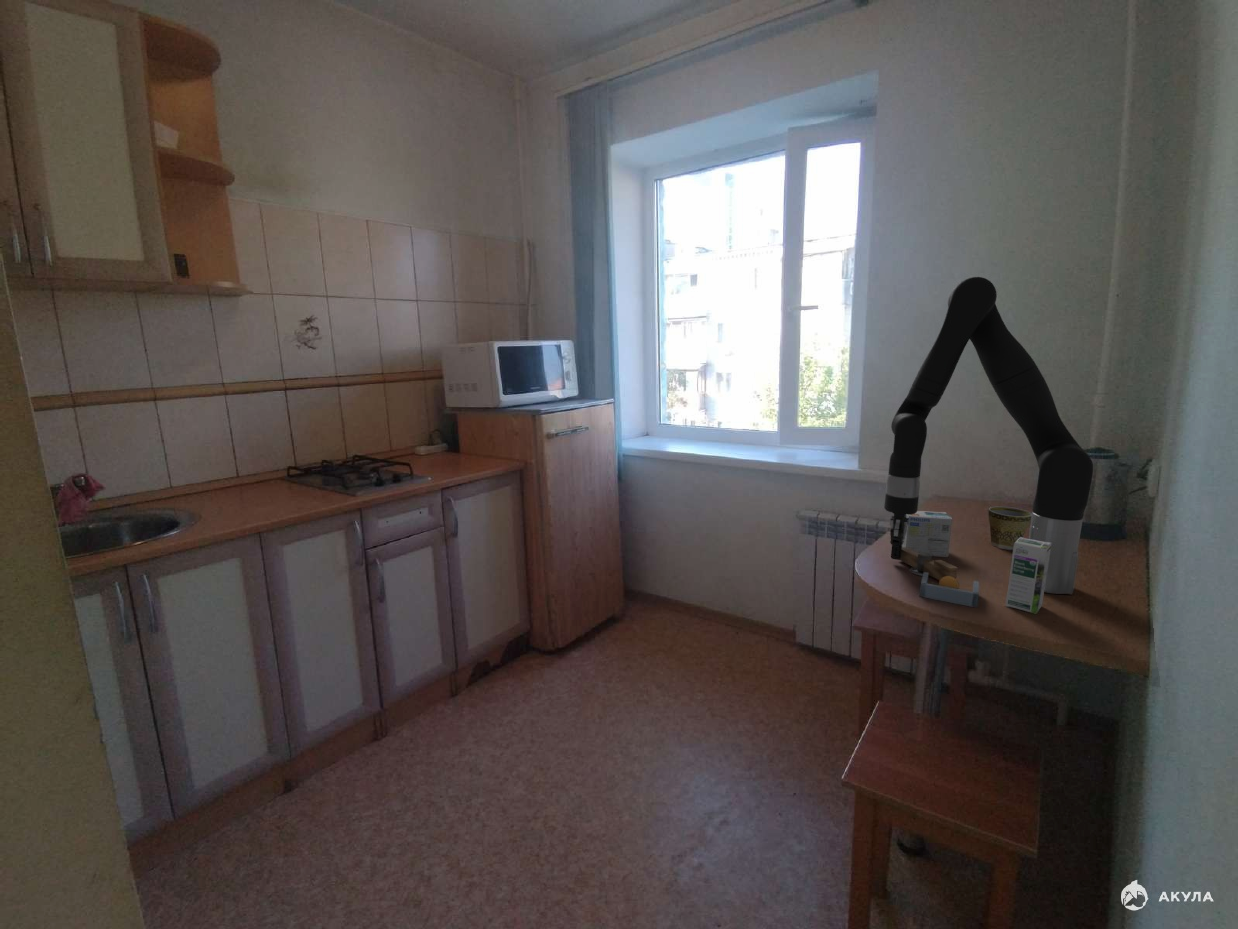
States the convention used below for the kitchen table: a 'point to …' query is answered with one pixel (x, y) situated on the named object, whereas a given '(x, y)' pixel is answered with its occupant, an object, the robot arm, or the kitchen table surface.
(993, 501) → the kitchen table surface
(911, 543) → the light bulb box
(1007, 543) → the ceramic cup
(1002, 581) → the kitchen table surface
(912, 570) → the pivot base
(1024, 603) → the syrup box
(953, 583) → the ball
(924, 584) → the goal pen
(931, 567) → the tan wooden bar
